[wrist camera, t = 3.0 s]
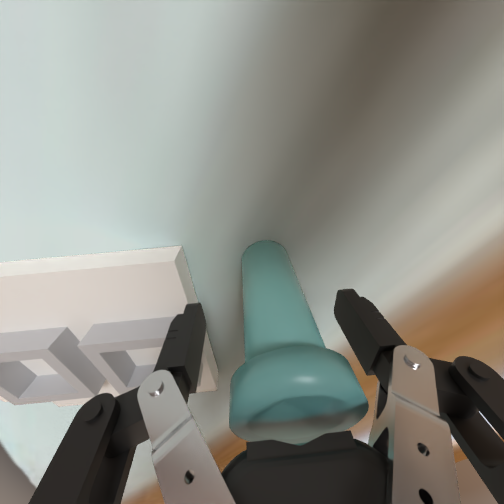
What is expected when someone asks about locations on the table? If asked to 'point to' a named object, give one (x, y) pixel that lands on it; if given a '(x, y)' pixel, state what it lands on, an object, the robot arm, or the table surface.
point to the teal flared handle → (287, 360)
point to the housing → (91, 323)
